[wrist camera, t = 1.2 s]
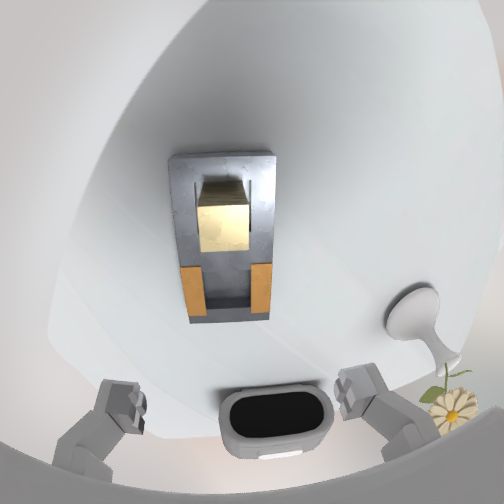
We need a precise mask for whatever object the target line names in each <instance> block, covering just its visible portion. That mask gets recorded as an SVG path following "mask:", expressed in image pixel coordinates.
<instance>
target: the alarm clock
mask: <svg viewBox="0 0 504 504" xmlns="http://www.w3.org/2000/svg"><path fill="white" fill-rule="evenodd" d="M218 419H219V425H220V430H221V435H222V440H223V444H224V446H225V448H226V450H227V451H228V452H229V453H230V454H231V455H233V456H235V457H237V458H240V459H271V458H280V457H287V456H294V455H298V454H301V453H303V452H307V451H310V450H313V449H315V448H316V447H317V446H318V445H319V444H320V443H321V441H322V440H323V438H324V437H325V435H326V434H327V432H328V431H329V429H330V427H331V426H332V423H333V421H334V409H333V405H332V402H331V400H330V398H329V397H328V396H327V394H326V393H325V392H324V391H322V390H321V389H319V388H317V387H314V386H311V385H304V386H302V383H301V384H293V385H284V386H274V387H263V388H250V389H242V392H235V393H233V394H231V395H230V396H228V397H227V398H226V399H225V400H224V401H223V402H222V404H221V407H220V410H219V418H218Z"/></svg>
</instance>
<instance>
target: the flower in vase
mask: <svg viewBox="0 0 504 504" xmlns="http://www.w3.org/2000/svg"><path fill="white" fill-rule="evenodd" d="M439 308H440V298H439V294H438V292H437V291H436V290H435V289H433V288H420V289H417V290H414V291H412V292H411V293H409V294H408V295H406V296H405V297H404V298H403V299H401V300H400V301H399V302H398V303H397V305H396V306H395V307H394V308H393V310H392V311H391V313H390V315H389V317H388V320H387V326H386V331H387V334H388V335H389V336H390V337H391V338H393V339H395V340H399V341H408V340H415V339H421V340H423V341H424V342H425V343H426V344H427V346H428V347H429V349H430V351H431V352H432V355H433V357H434V360H435V363H436V374H435V375H436V377H440V376H443V375H444V374H446V378H445V389H443V388H442V387H437V386H433V387H431V388H430V389H428V390H427V391H426V392H425V394H424V395H423V396H422V397H421V399H420V400H419V402H422V403H434V405H433V406H431V407H430V409H429V410H428V413H429V414H430V415H431V416H432V418H433V420H434V422H435V424H436V426H437V428H438V430H439V432H440V435H441V437H442V436H444V435H446V434H448V433H449V432H451V431H453V430H455V429H456V428H458V427H460V426H461V425H463V424H465V423H466V422H468V421H469V420H471V419H473V418H474V417H476V416H477V415H478V413H477V412H478V406H477V399H476V397H475V393H470V391H469V390H465V391H464V389H463V387H459V388H458V389H454V390H450V391H449V392H448V393H447V378H448V372H449V371H451V370H452V369H453V368H454V367H455V366H456V365H457V364H458V362H459V361H460V359H461V357H462V355H461V354H460V353H455V352H453V351H451V350H449V349H448V348H447V347H446V346H445V345H444V344H443V343H442V341H441V340H440V339H439V338H438V336H437V334H436V332H435V330H434V325H435V322H436V319H437V316H438V313H439ZM465 372H472V371H471V370H466V371H463V372H460V373H457V374H455V375H451V376H449V377H455V376H458V375H461V374H463V373H465ZM444 390H445V393H444Z"/></svg>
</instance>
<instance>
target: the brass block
mask: <svg viewBox="0 0 504 504" xmlns="http://www.w3.org/2000/svg"><path fill="white" fill-rule="evenodd" d="M197 213H198V225H199V237H200V247H201V252H216V251H238V250H249V204H248V200H247V197H246V193H245V189H244V185H243V182H221V183H203V185H202V189H201V193H200V197H199V201H198V205H197Z"/></svg>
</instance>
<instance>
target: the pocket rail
mask: <svg viewBox="0 0 504 504" xmlns="http://www.w3.org/2000/svg"><path fill="white" fill-rule="evenodd" d="M168 168H169V180H170V191H171V201H172V210H173V218H174V227H175V235H176V242H177V249H178V256H179V263H180V272H181V278H182V284H183V290H184V296H185V302H186V307H187V312H188V316H189V321H190V324H194V323H223V322H242V321H258V320H269V312H270V300H271V283H272V257H273V235H274V211H275V184H276V155H275V154H273V153H272V152H271V151H239V152H211V153H194V154H180V155H173V156H172V157H171V158H170V159H169V160H168ZM221 182H243V185H244V189H245V193H246V197H247V200H248V204H249V250H238V251H216V252H201V247H200V237H199V225H198V213H197V205H198V201H199V197H200V193H201V189H202V185H203V183H221Z"/></svg>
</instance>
